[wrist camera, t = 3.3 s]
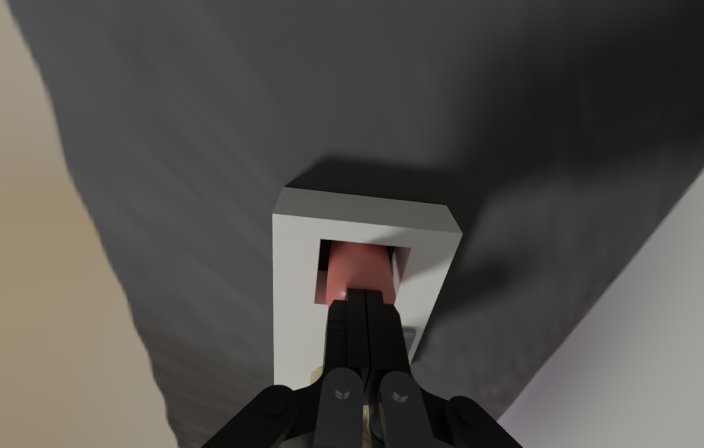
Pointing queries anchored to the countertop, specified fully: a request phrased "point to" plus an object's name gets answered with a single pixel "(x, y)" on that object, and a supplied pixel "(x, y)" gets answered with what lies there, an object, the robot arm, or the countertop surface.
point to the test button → (358, 270)
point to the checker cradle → (311, 284)
